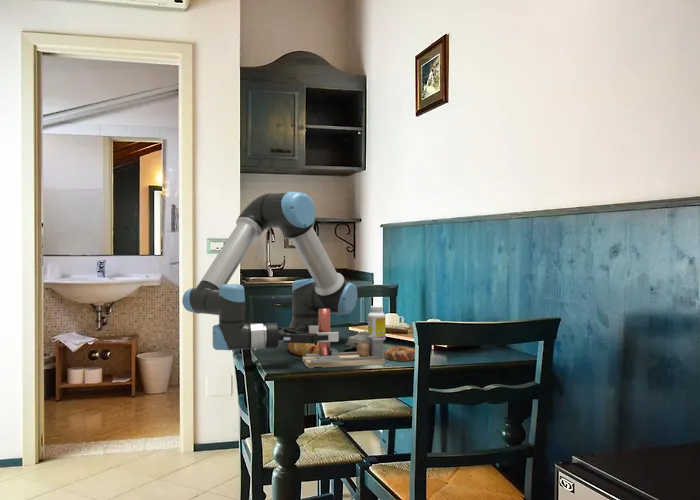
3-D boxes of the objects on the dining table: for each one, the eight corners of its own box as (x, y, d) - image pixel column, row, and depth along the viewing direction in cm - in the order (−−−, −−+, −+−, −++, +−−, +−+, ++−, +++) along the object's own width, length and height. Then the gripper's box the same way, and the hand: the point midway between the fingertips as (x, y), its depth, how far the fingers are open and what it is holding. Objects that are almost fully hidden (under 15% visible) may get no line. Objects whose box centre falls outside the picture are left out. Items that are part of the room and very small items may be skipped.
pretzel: (375, 357, 196) (375, 346, 196) (401, 354, 202) (401, 343, 202) (399, 364, 186) (399, 352, 186) (425, 359, 193) (425, 348, 193)
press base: (302, 361, 189) (302, 337, 189) (375, 357, 195) (375, 334, 194) (308, 368, 179) (308, 343, 179) (384, 364, 185) (384, 339, 185)
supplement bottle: (388, 339, 229) (388, 305, 229) (381, 342, 224) (381, 307, 223) (372, 337, 232) (372, 305, 232) (365, 340, 227) (365, 306, 226)
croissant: (332, 368, 195) (341, 345, 198) (311, 357, 189) (321, 334, 191) (294, 357, 211) (302, 336, 213) (273, 346, 205) (282, 325, 207)
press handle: (315, 356, 188) (315, 307, 188) (334, 355, 190) (334, 307, 189) (320, 360, 181) (320, 310, 181) (339, 359, 183) (339, 310, 182)
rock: (355, 354, 200) (355, 335, 200) (338, 351, 206) (338, 332, 206) (383, 349, 209) (383, 331, 209) (365, 346, 215) (365, 328, 215)
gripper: (260, 341, 193) (325, 338, 198) (269, 356, 169) (342, 352, 174) (260, 317, 193) (325, 315, 198) (269, 329, 168) (342, 326, 174)
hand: (333, 333), depth 186 cm, fingers open, 13 cm apart
